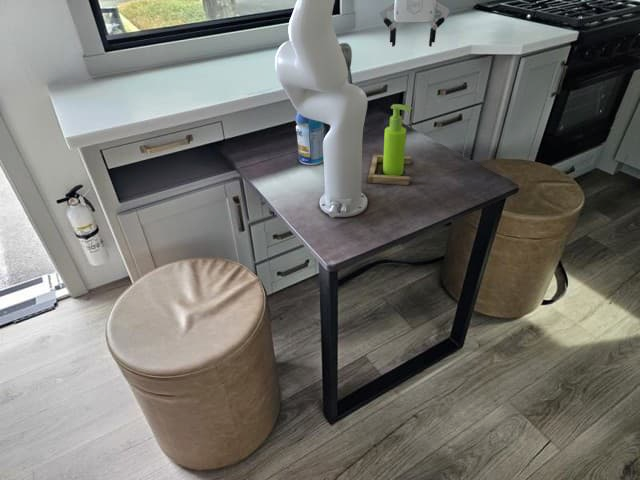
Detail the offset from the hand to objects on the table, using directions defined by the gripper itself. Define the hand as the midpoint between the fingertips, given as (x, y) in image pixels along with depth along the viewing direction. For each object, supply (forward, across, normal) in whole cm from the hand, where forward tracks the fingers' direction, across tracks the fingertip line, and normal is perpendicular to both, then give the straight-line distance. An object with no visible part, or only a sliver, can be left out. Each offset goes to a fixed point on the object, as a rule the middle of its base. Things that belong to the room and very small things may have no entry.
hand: (411, 45), depth 114 cm
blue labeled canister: (+32, -28, -6) cm, 43 cm away
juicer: (+33, -22, +12) cm, 41 cm away
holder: (+32, -4, -11) cm, 34 cm away
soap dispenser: (+33, -2, -11) cm, 34 cm away
